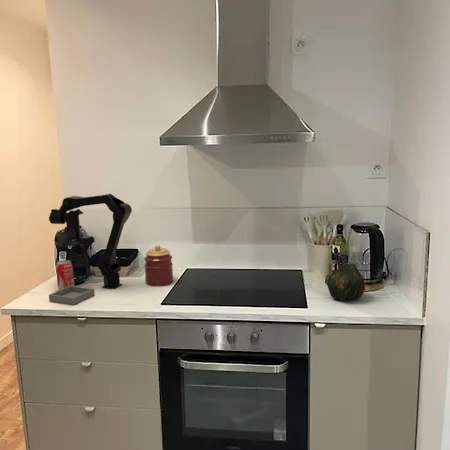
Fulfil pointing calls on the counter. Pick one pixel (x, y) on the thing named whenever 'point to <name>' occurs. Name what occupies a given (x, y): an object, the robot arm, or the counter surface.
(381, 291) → the counter surface
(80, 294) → the bin
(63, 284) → the soda can
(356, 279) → the squash
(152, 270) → the canister
